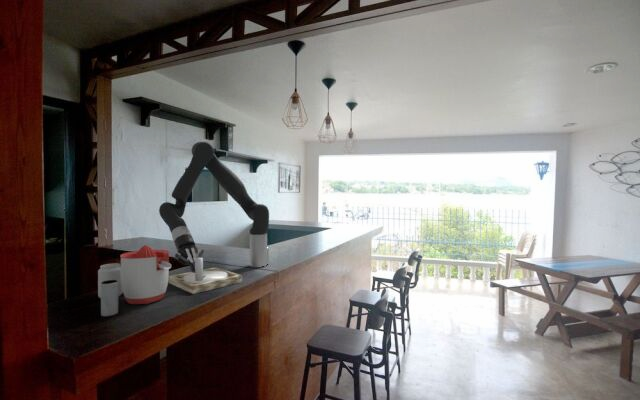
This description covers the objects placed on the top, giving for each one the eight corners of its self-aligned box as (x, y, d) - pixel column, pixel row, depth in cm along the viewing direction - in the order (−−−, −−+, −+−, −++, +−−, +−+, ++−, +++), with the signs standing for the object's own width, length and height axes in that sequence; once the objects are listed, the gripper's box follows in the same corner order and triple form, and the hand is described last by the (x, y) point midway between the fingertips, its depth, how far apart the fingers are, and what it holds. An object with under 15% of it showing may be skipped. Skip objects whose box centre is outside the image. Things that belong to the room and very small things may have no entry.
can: (113, 300, 111) (113, 267, 110) (93, 300, 111) (92, 266, 110) (127, 293, 118) (126, 262, 118) (107, 293, 118) (107, 262, 118)
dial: (194, 273, 142) (194, 251, 142) (232, 273, 142) (232, 251, 142) (175, 284, 124) (174, 259, 124) (219, 285, 124) (218, 259, 124)
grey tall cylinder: (115, 309, 101) (115, 278, 101) (120, 313, 98) (120, 281, 98) (99, 314, 98) (98, 281, 98) (103, 317, 95) (103, 284, 95)
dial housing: (215, 273, 149) (215, 266, 149) (242, 282, 134) (242, 274, 134) (168, 283, 132) (168, 275, 132) (192, 294, 117) (192, 286, 117)
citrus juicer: (152, 309, 102) (152, 249, 101) (108, 305, 105) (108, 247, 105) (182, 294, 117) (182, 242, 117) (143, 291, 120) (143, 241, 120)
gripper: (170, 235, 128) (183, 269, 120) (200, 232, 138) (214, 263, 130) (164, 245, 132) (177, 279, 124) (194, 242, 142) (207, 273, 134)
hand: (196, 271), depth 127 cm, fingers closed
